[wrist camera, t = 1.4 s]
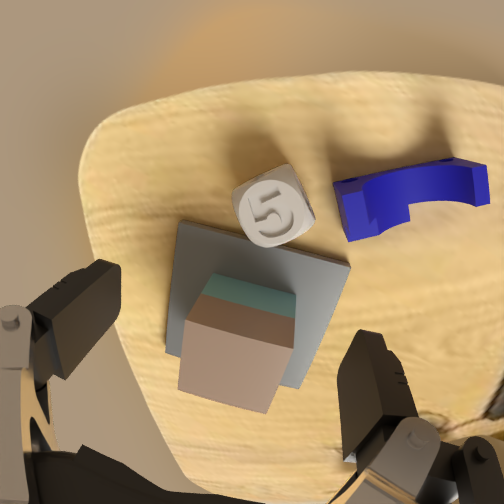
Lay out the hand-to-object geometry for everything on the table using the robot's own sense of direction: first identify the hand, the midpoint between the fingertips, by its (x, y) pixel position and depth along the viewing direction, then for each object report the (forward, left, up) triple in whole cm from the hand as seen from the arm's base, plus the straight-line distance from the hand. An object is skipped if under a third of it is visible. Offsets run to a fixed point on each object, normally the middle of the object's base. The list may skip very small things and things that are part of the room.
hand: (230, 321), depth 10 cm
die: (0, 0, -19) cm, 19 cm away
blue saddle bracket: (-11, -4, -19) cm, 22 cm away
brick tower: (0, +12, -19) cm, 22 cm away
